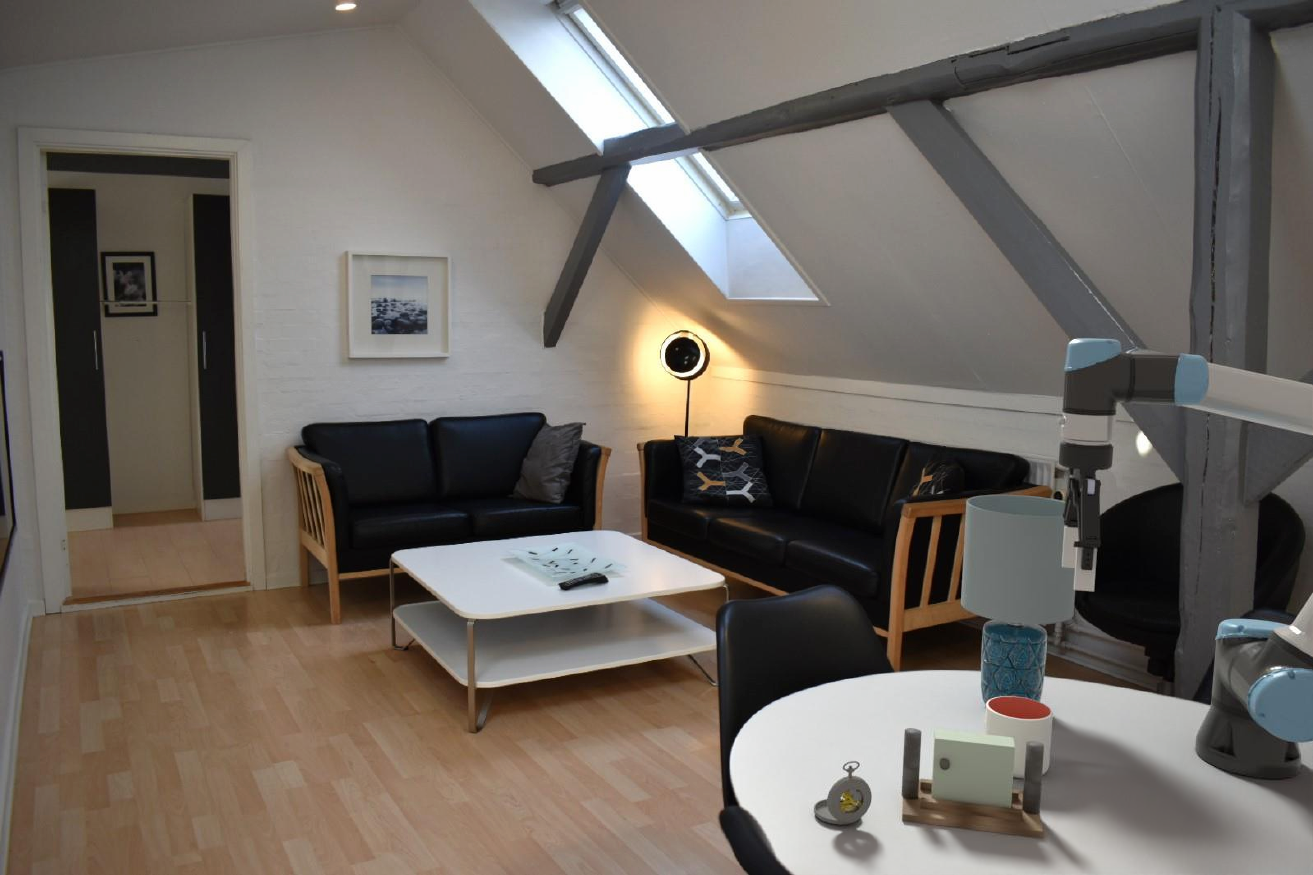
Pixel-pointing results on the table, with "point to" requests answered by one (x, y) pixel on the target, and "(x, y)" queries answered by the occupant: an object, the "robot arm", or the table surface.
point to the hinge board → (971, 815)
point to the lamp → (1015, 587)
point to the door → (973, 768)
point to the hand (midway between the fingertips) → (1077, 578)
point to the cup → (1020, 726)
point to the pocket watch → (845, 800)
